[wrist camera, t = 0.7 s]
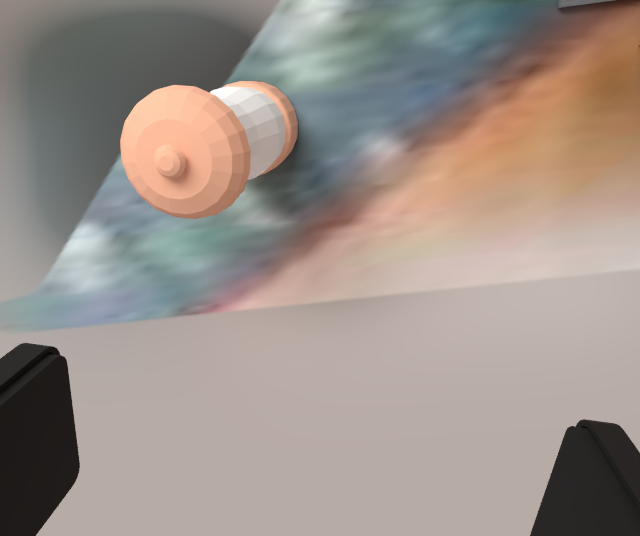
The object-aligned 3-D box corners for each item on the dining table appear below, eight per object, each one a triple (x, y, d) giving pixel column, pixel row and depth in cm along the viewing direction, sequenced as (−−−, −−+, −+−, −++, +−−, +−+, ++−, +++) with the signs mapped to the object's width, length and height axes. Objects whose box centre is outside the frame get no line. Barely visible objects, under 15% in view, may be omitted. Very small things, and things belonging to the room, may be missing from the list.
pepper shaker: (314, 112, 40) (266, 138, 23) (272, 185, 43) (199, 260, 25) (238, 62, 40) (127, 50, 22) (200, 140, 42) (73, 185, 24)
